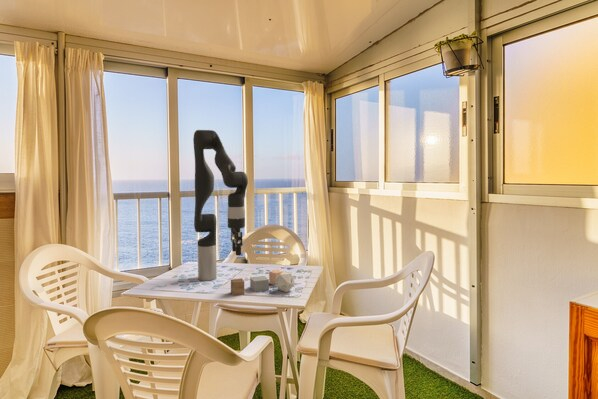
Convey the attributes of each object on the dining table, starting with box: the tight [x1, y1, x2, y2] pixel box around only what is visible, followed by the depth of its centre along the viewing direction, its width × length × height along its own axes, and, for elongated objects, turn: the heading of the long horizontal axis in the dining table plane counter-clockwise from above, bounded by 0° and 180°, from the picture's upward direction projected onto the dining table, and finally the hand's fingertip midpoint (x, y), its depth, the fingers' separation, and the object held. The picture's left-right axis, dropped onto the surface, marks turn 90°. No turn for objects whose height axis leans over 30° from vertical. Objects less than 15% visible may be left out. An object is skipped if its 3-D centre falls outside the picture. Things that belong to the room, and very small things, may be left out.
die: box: [274, 271, 296, 293], centre depth 169 cm, size 8×9×10 cm
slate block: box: [249, 275, 270, 293], centre depth 172 cm, size 7×7×5 cm
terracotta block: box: [268, 269, 284, 287], centre depth 180 cm, size 5×5×6 cm
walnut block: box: [230, 278, 245, 297], centre depth 165 cm, size 5×5×6 cm
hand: (236, 253), depth 163 cm, fingers open, 8 cm apart
